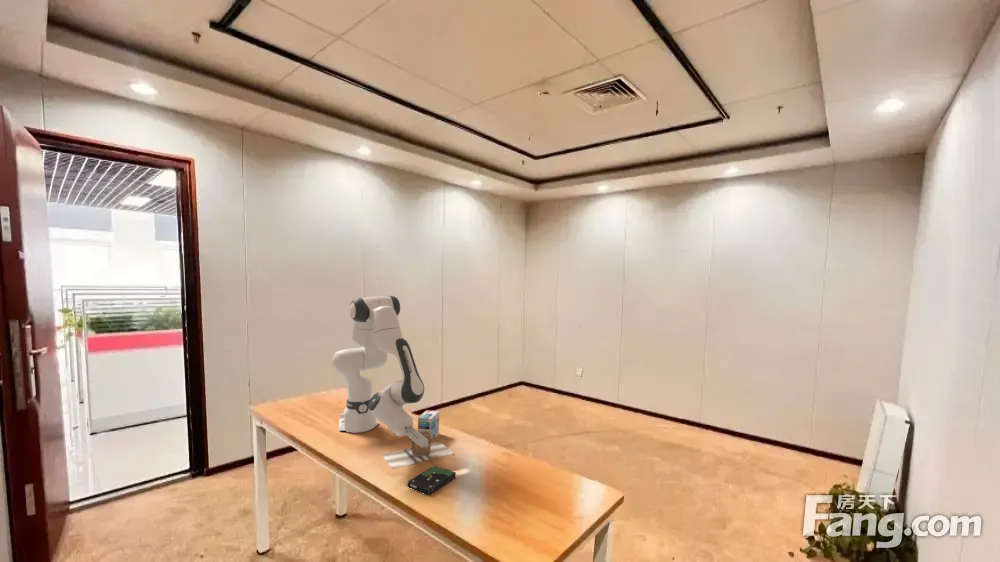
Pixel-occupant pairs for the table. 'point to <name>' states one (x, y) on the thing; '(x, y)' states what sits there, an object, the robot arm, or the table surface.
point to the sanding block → (423, 451)
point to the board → (409, 458)
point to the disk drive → (431, 480)
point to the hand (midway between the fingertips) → (424, 442)
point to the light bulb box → (429, 423)
